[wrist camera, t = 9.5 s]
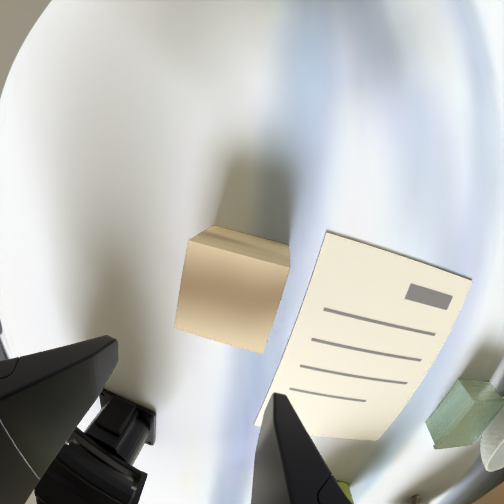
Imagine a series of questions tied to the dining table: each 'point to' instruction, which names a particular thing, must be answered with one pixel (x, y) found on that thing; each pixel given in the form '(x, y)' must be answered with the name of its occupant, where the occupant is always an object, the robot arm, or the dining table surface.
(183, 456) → the dining table surface
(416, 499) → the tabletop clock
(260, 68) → the dining table surface
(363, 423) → the letter
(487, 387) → the translucent green block
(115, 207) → the dining table surface
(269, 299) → the cube
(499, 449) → the cereal bowl
